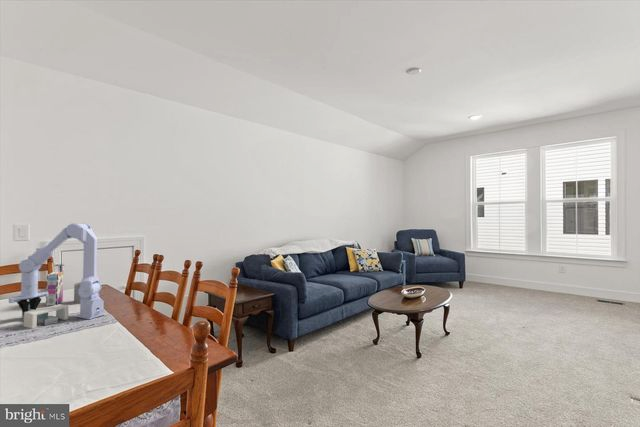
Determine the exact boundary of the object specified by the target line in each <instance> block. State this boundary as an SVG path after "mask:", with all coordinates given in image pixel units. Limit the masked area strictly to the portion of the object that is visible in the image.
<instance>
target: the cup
mask: <svg viewBox="0 0 640 427" xmlns="http://www.w3.org/2000/svg"><path fill="white" fill-rule="evenodd" d="M80 285H81V281H80V282H76V283H74V285H73V286H74V287H73V288H74V289H73V291H74V292H73V303H74V304H76V305H79V304H80V300H81V297H80V296H79V294H78V289H79V288H80Z"/></svg>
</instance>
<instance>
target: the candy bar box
mask: <svg viewBox="0 0 640 427" xmlns="http://www.w3.org/2000/svg"><path fill="white" fill-rule="evenodd" d="M64 272H65V271H52V272H50V273H48V274H46V291H45V292H49V293H48V296H45V307H50V306H54V305H59V304H60V303H62V302H63V299H64V298H63V297H64V295H63V293H64V277H65V276H64Z"/></svg>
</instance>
